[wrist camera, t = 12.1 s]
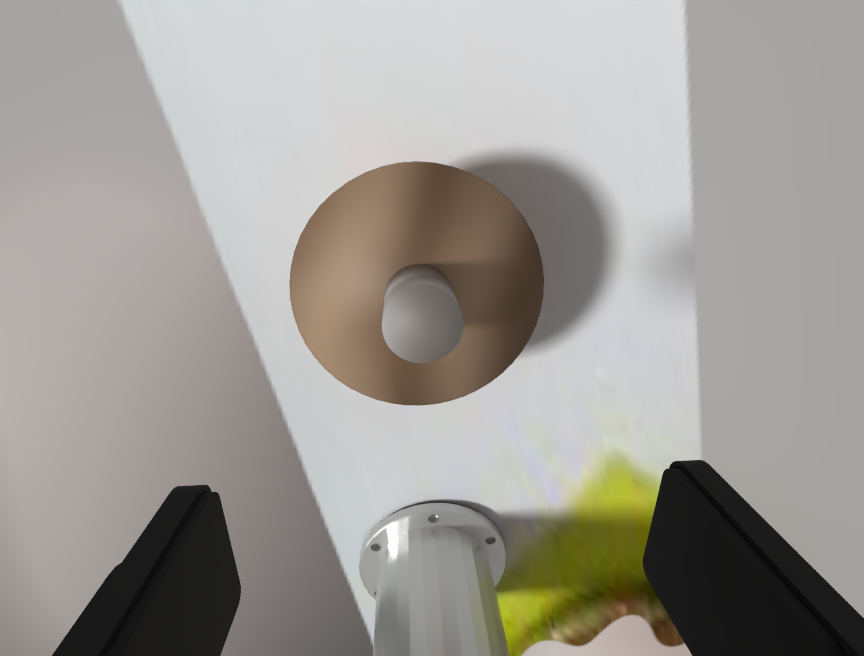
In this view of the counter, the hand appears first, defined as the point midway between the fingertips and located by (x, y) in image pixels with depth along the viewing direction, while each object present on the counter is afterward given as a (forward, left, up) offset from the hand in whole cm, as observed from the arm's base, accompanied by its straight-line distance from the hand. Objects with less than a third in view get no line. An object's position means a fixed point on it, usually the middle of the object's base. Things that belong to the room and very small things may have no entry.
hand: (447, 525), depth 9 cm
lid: (0, 0, -15) cm, 15 cm away
